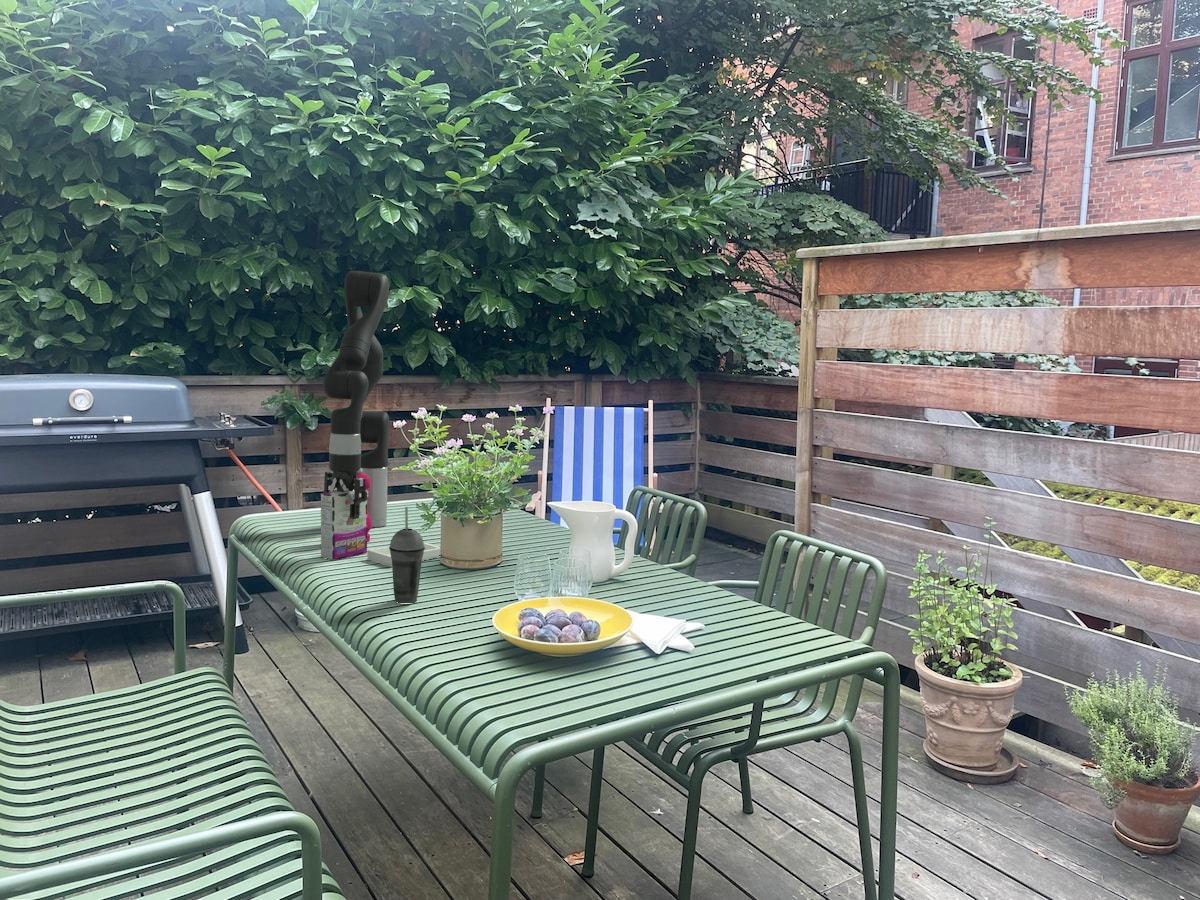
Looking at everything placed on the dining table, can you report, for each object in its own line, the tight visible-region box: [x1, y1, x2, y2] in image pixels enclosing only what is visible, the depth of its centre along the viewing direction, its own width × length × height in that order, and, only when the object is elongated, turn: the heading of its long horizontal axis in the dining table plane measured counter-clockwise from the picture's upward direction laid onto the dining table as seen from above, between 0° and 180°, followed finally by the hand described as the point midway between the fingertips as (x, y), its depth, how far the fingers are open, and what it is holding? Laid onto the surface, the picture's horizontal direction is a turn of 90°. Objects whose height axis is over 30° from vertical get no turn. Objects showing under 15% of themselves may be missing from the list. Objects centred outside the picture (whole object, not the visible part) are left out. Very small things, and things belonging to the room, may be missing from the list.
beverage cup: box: [389, 506, 425, 604], centre depth 184 cm, size 7×7×20 cm
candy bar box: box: [320, 489, 368, 561], centre depth 220 cm, size 11×5×16 cm, turn 148°
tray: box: [366, 542, 441, 568], centre depth 221 cm, size 10×16×2 cm, turn 141°
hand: (344, 515), depth 220 cm, fingers open, 8 cm apart
